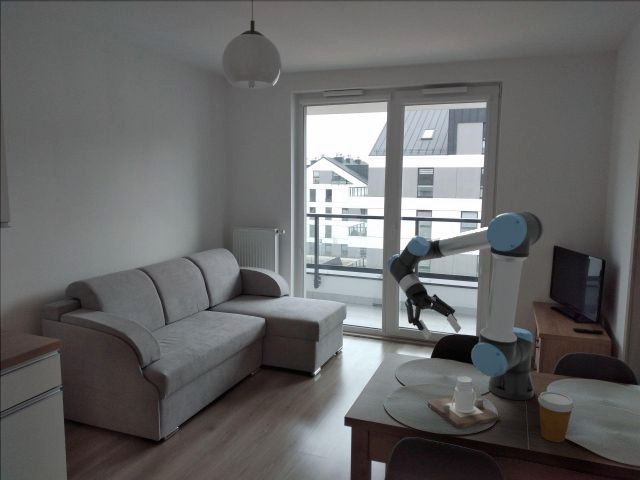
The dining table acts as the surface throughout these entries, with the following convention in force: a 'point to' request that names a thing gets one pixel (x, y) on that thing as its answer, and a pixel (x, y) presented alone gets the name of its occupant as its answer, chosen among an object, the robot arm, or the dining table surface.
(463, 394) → the downlight
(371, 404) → the dining table surface
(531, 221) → the robot arm
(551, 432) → the disposable coffee cup
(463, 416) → the pin stand
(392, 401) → the dining table surface
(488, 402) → the dining table surface
